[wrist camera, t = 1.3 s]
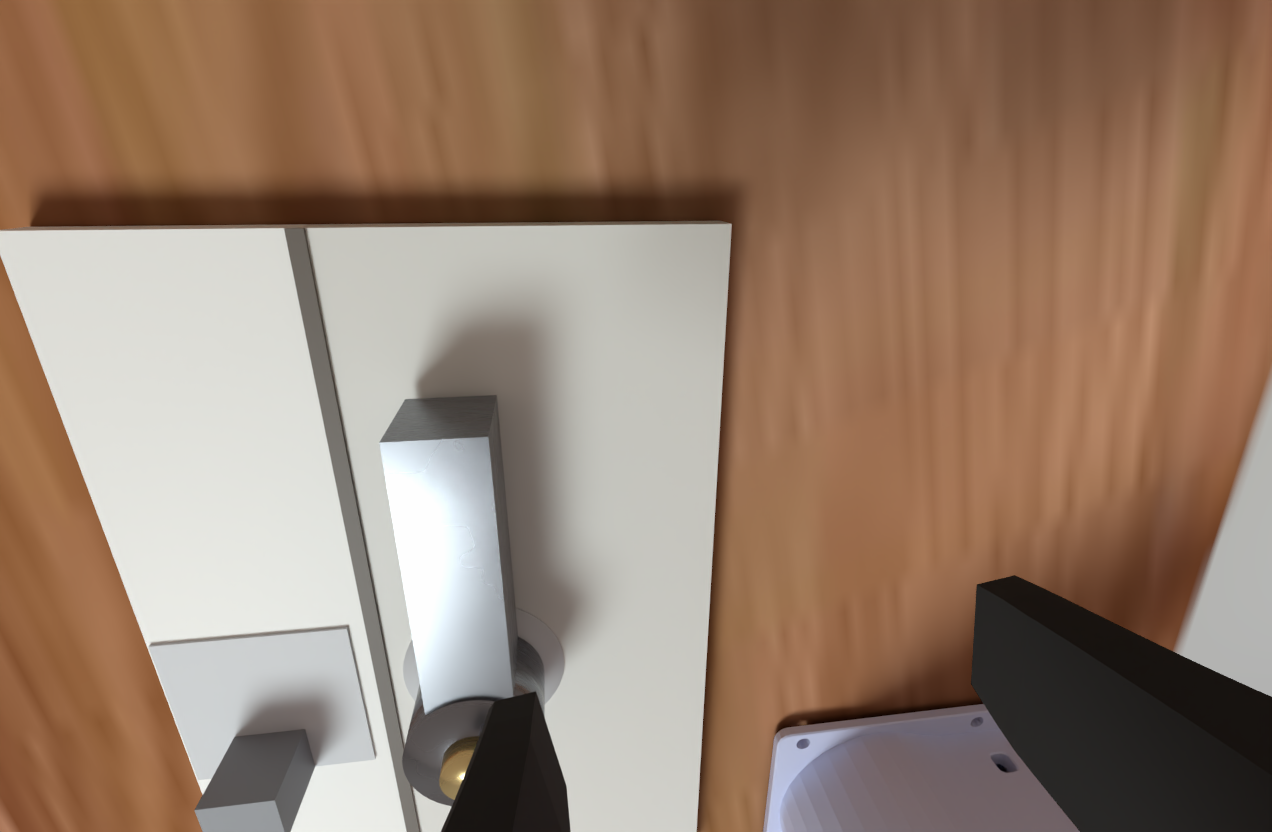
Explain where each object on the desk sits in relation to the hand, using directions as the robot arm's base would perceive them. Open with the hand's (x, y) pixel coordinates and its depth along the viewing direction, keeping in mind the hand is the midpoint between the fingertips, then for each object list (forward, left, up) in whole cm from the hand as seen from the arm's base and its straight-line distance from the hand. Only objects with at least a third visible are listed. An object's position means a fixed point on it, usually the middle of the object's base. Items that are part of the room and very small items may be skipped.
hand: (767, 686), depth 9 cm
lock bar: (+6, +3, -8) cm, 10 cm away
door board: (+6, +6, -9) cm, 13 cm away
